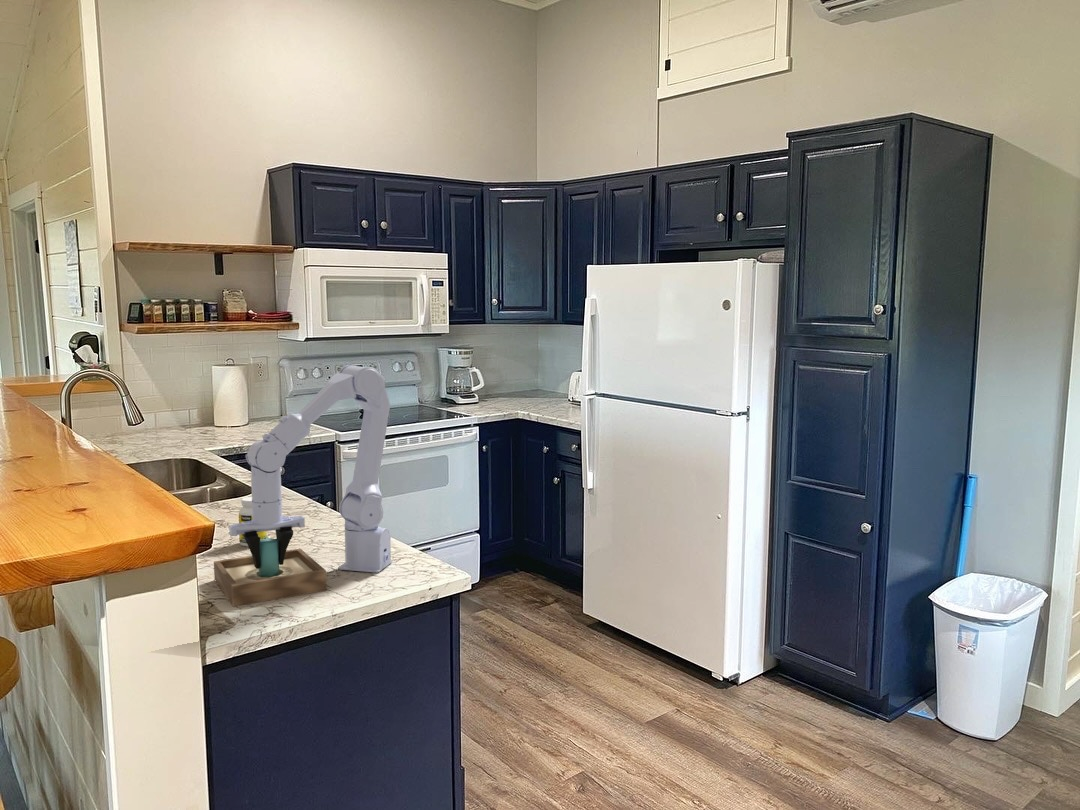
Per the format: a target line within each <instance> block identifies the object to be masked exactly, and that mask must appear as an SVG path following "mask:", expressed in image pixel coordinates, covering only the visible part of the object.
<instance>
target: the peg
mask: <svg viewBox="0 0 1080 810" xmlns="http://www.w3.org/2000/svg"><path fill="white" fill-rule="evenodd" d="M259 554H260V568H259V576H260V577H274V576H277V575H279V549H278V539H276V538H267V539H262V540H260V550H259Z"/></svg>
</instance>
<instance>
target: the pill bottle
mask: <svg viewBox="0 0 1080 810" xmlns="http://www.w3.org/2000/svg"><path fill="white" fill-rule="evenodd" d="M241 506H242V507H240V509H239V510H238V524H239V523H243V522H248V521H252V520H253V517H252V496H248V497H243V498H241ZM257 534H258V537H259V538H260V540H262V539H268V538H267V531H263V532H257ZM238 537H239V542H238V543H239V545H240V546H243V547H248V544H247V542H246V540H245V539H244V537H243V535H242V534H240V535H238Z"/></svg>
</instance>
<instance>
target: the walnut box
mask: <svg viewBox="0 0 1080 810" xmlns="http://www.w3.org/2000/svg"><path fill="white" fill-rule="evenodd" d="M213 574H214V575H213V577H214V581H215V580H216V581H215V583H216V582H217V583H218V584H217V583H216V584H217V586H218V585H219V586H218V587H219V589H220V591H222V593H223V594H224V596H225V597H226V598H227V599H228V601H229V602H230V604H231V606H232V607H238V606H245V605H248V604H249V605H251V604H255V603H261V602H266V601H267V602H268V601H273V600H277V599H279V600H280V599H283V598H284V599H285V598H289V597H294V596H300V595H306V594H311V593H316V592H322V591H327V590H328V589H327V585H328V584H327V570H326V569H325V568H324V567H323V566H322V565H320V564H319V563H318V562H317V561H316V560H315V559H313V557H311V556H310V555H309V554H308V553H306V551H304V550H303V549H302V548H295V549H289V550H288V549H287V550H286V553H285V557H284V563H283V565H279V575H277V576H274V577H260V576H259V568H258V569H256V567H255V566H254V561H253V557H252V555H247V556H241V557H235V558H234V557H233V558H228V559H227V558H225V559H220V560H215V561H213Z"/></svg>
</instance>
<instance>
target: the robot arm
mask: <svg viewBox="0 0 1080 810" xmlns="http://www.w3.org/2000/svg"><path fill="white" fill-rule="evenodd" d="M348 399H349V400H350V399H354V400H355V401H356V403H357V404H358V405H359V406H360V407H361V408H362V409H363V415H362V421H361V428H360V433H359V438H358V445H357V453H356V459H355V464H354V471H353V477H352V480H351V482H350V483H349V484H348V485H347V487H346V490H345V492H344V493H345V494H344V496H343V498H342V499H341V501H340V502H339V506H338V507H339V509H338V511H339V513H340V516H341V517H342V518H343V519H344V554H345V555H344V557H345V562H344V563H342V564H341V565H339V566H338V567H337V569H338V570H341V571H342V570H343V571H353V572H354V571H355V572H364V573H376V574H377V573H379V572H381V571H382V570H384V569H385V568H387V567H388V566H389V565H391V564H392V563H393V560H392V557H391V555H392V553H391V551H392V549H391V532H390V530H389V529H388V528H385V527H381V526H379V524H380V523H381V521H382V519H383V518H384V517H383V516H384V507H383V504H382V502H383V501H382V500H383V495H382V491H381V490H380V488H379V485H378V484H379V479H380V478H379V477H380V470H381V464H382V458H383V452H384V448H385V446H384V445H385V439H386V435H387V434H386V433H387V427H388V421H389V415H390V409H391V402H390V399H389V396H388V393H387V390H386V379H385V377H384V376H383V375H382V374H381V373H380V371H378V370H377V369H376V368H374V367H372V366H358V365H355V364H347V365H344V366H343V367H342V368H341V369H340V370H339V372H336V373H334V374H333V375H332V376H331V378H330V379H329V381H328V382H327V383H326V384H325V385H324V386H323V387H322V388H321V390H320V391H318V392H317V394H316V395H314V397H312V399H310V400H309V401H308V403H307V404H306V405H305V406H304V407H303V408H302V409H301V410H300V411H299V412H298V413H289V414H287V415H282V416H281V417H279V419H278V420H279V422H278V424H277V425H275V426H274V427H273V429H271V430H270V431H269V432H268V433H267V432H266V433H264V434H263V435H262V436H261V437H262V439H263V440H262V439H261V440H256V441H254V442H253V443H252V444H251V445H250V446H249V448H248V451H247V453H246V454H245V460H246V462H247V463H248V465H249V466H250V472H251V473H250V475H251V477H250V479H251V481H250V482H251V485H250V487H251V497H252V517H253V520H252V521H248V522H243V523H239V522H238V523H234V524H229V525H228V526H229V527H228V529H229V536H230V537H237V536H239V535H240V534H242V535H243V537H244V539H245V540H246V542H247V544H248V546H249V547H248V546H247V547H248V548H249V551H250V554H251V556H252V557H253V561H254V566H255V567H256V569H258V568H260V554H259V550H260V538H259V537H258V534H257V532H263V531H266V532H267V531H268V532H269V531H275V539H278V549H279V565H283V563H284V557H285V553H286V551H287V550H288V549H287V548H288V547H289V544H290V542H291V540H292V539H293V536H294V529H293V528H305V527H306V524H305V522H306V521H305V517H304V516H303V515H298V516H297V515H295V516H283V507H282V506H283V504H282V503H283V502H282V476H281V472H282V471H281V468H282V467H283V466H284V465H285V462H286V459H287V458H286V456H288V455H289V454H290V453H291V452H292V451H293V450H294V449H295V448H296V447H297V446H298V445H299V444H300V443H301V442H302V441H303V440H305V438H306V437H308V436H309V435H310V431H311V425H312V424H313V423H314V422H315V421H317V420H318V419H319V418H320V417H322V415H323V414H325V413H326V412H327V411H328V410H329V409H331V407H333V406H334V405H335V404H337V402H339V401H341V400H348Z"/></svg>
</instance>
